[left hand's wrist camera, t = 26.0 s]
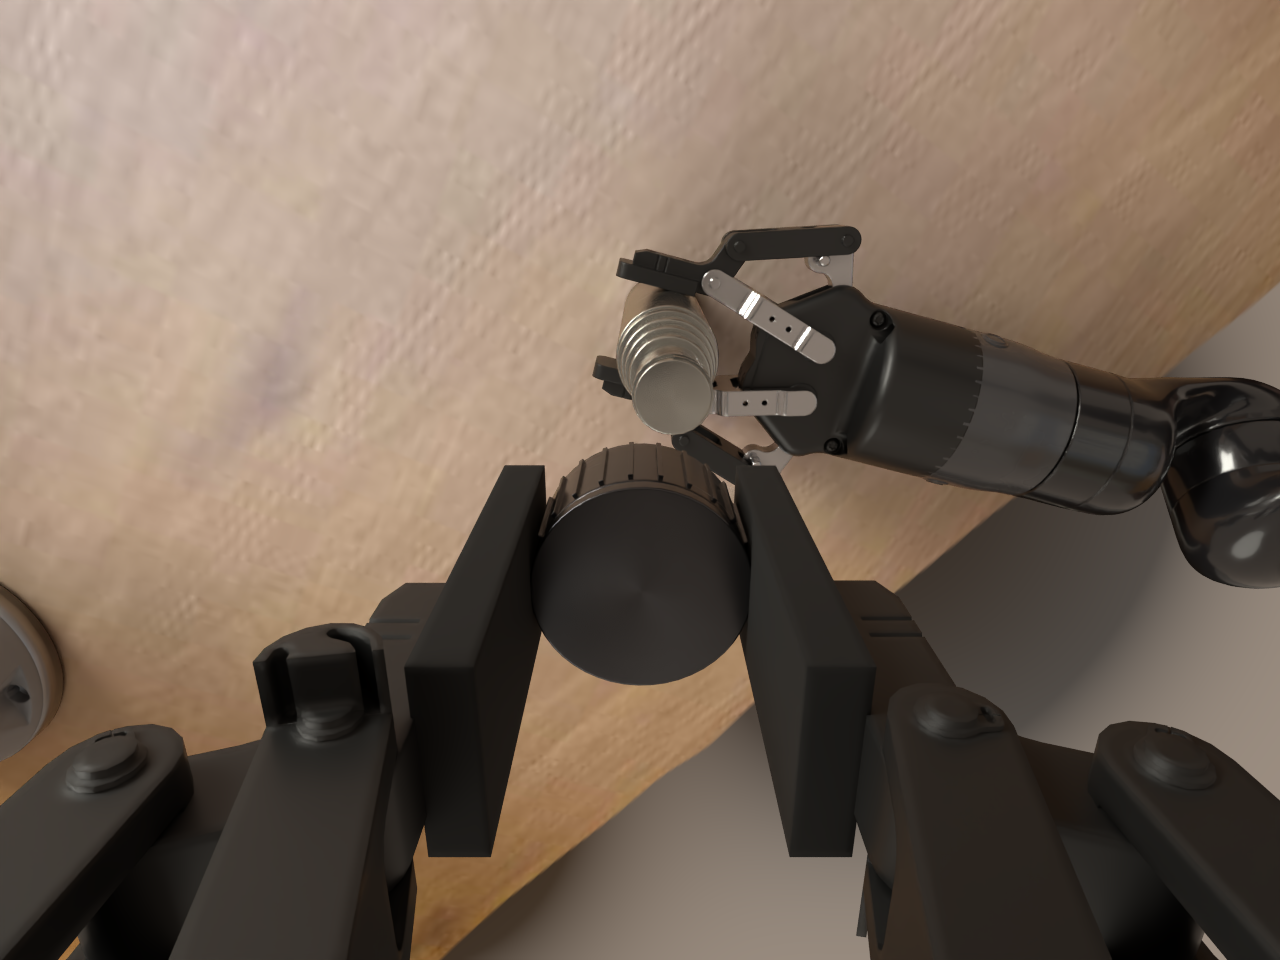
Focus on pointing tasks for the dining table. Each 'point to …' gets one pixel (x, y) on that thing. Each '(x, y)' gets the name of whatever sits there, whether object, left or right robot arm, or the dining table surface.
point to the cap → (641, 566)
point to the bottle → (667, 359)
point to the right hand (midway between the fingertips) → (608, 317)
